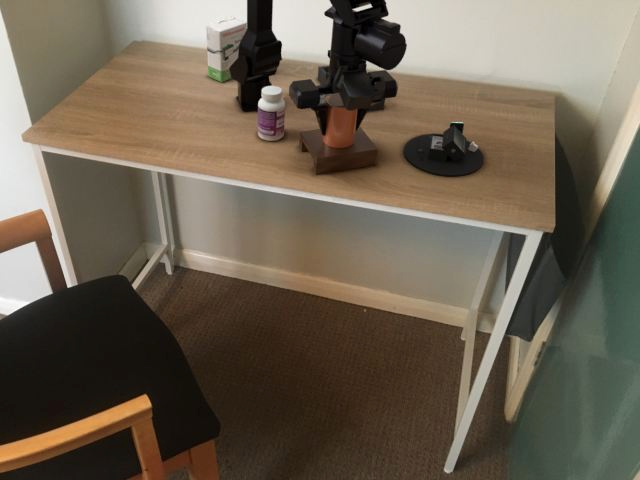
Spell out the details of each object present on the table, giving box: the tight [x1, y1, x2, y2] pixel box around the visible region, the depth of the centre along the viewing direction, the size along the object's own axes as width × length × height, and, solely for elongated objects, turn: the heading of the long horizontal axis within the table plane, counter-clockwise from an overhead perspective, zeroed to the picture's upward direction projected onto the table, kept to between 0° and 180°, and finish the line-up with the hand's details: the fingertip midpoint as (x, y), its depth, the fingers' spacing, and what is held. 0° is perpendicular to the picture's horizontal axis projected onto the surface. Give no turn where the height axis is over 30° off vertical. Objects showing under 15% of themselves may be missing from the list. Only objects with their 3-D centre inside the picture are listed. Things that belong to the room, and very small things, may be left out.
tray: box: [317, 65, 386, 112], centre depth 135 cm, size 9×17×3 cm, turn 15°
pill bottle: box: [257, 85, 286, 142], centre depth 120 cm, size 5×5×10 cm
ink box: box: [205, 16, 247, 83], centre depth 140 cm, size 9×5×12 cm, turn 134°
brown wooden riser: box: [298, 125, 379, 175], centre depth 116 cm, size 12×10×4 cm
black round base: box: [403, 121, 484, 178], centre depth 116 cm, size 15×15×6 cm
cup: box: [322, 95, 358, 148], centre depth 112 cm, size 6×6×8 cm
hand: (338, 132), depth 114 cm, fingers closed on cup, 6 cm apart
